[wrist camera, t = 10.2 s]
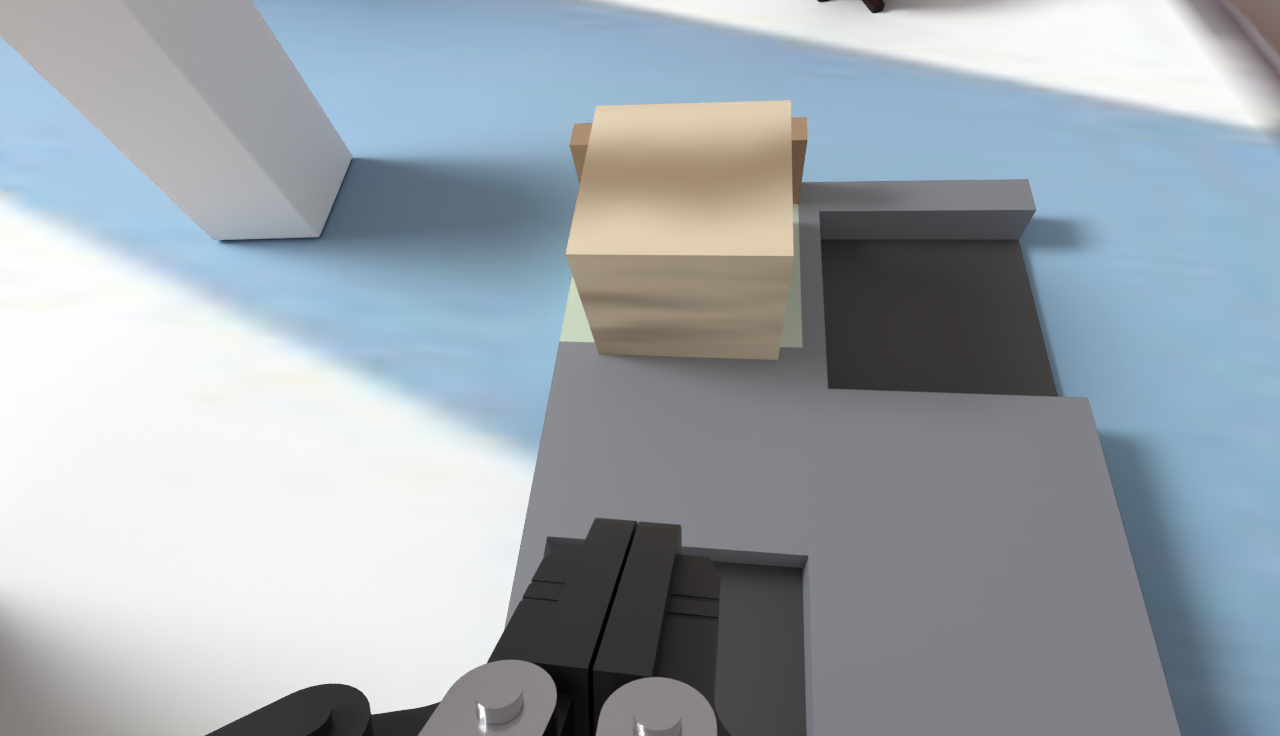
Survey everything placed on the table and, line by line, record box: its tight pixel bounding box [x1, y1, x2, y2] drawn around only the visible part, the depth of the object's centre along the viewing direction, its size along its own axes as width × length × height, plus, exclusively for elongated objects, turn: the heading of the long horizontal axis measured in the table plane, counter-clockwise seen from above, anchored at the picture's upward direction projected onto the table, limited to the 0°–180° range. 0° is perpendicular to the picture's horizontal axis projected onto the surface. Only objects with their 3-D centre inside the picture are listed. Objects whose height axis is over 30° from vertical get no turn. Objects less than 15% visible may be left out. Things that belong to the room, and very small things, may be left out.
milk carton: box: [0, 0, 352, 240], centre depth 32 cm, size 7×7×19 cm
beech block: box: [565, 100, 794, 360], centre depth 27 cm, size 8×8×7 cm
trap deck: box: [504, 117, 1181, 736], centre depth 25 cm, size 28×22×6 cm
